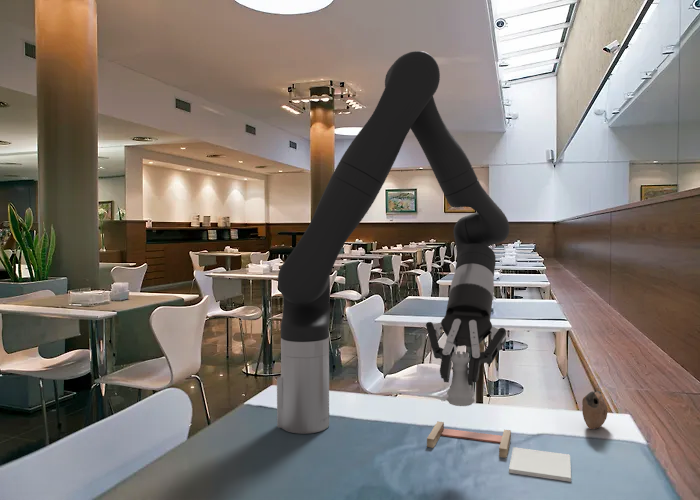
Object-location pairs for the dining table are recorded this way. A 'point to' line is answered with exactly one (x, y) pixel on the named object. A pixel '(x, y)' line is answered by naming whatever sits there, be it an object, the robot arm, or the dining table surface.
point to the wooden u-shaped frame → (470, 437)
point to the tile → (540, 464)
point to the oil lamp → (594, 410)
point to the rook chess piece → (460, 381)
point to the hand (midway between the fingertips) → (458, 380)
